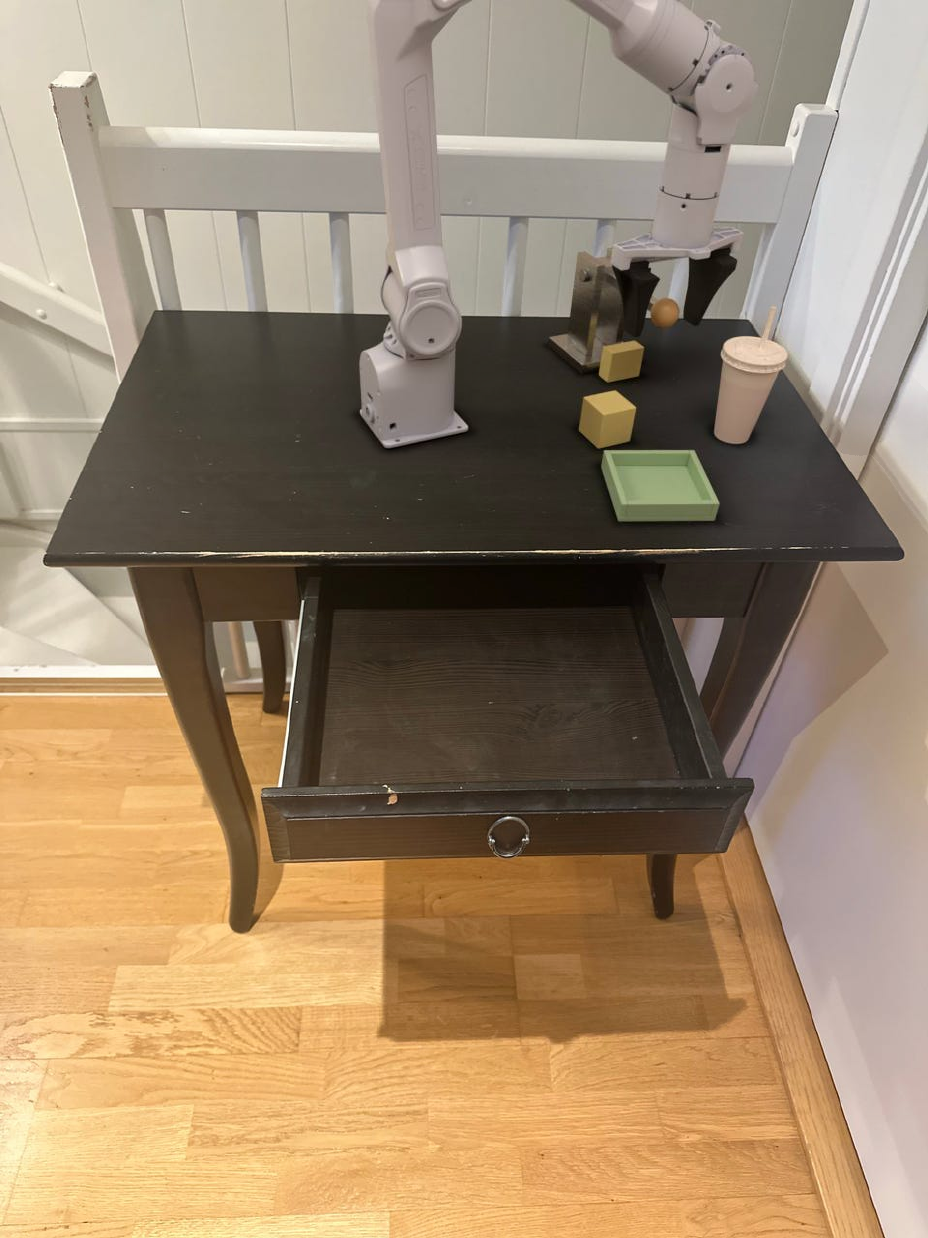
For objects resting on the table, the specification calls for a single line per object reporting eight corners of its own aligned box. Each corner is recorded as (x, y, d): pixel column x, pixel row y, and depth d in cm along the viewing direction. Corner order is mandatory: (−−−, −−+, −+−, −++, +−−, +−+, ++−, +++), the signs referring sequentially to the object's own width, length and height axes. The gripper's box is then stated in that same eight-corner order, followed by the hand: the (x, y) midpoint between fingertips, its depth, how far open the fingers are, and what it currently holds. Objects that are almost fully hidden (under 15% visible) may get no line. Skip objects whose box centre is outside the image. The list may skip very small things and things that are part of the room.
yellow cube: (598, 449, 87) (603, 414, 84) (578, 430, 90) (583, 396, 87) (630, 441, 88) (636, 407, 86) (609, 423, 91) (615, 389, 88)
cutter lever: (681, 330, 89) (688, 302, 87) (658, 334, 88) (664, 306, 86) (606, 278, 99) (610, 252, 97) (584, 282, 98) (588, 256, 96)
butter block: (638, 376, 99) (644, 347, 97) (607, 382, 98) (612, 353, 95) (629, 368, 101) (634, 340, 98) (598, 375, 99) (602, 346, 97)
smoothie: (763, 454, 87) (805, 324, 78) (701, 446, 88) (734, 316, 79) (760, 423, 92) (799, 297, 82) (700, 416, 93) (732, 290, 83)
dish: (618, 521, 78) (621, 503, 77) (600, 467, 85) (603, 449, 83) (714, 520, 79) (720, 503, 77) (690, 466, 85) (694, 449, 84)
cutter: (637, 362, 102) (655, 263, 94) (581, 374, 99) (595, 273, 91) (602, 335, 107) (616, 239, 99) (547, 345, 104) (558, 248, 96)
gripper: (650, 211, 75) (625, 354, 85) (776, 195, 80) (739, 331, 89) (608, 188, 80) (589, 326, 89) (729, 174, 85) (699, 306, 94)
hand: (661, 327), depth 90 cm, fingers open, 7 cm apart
